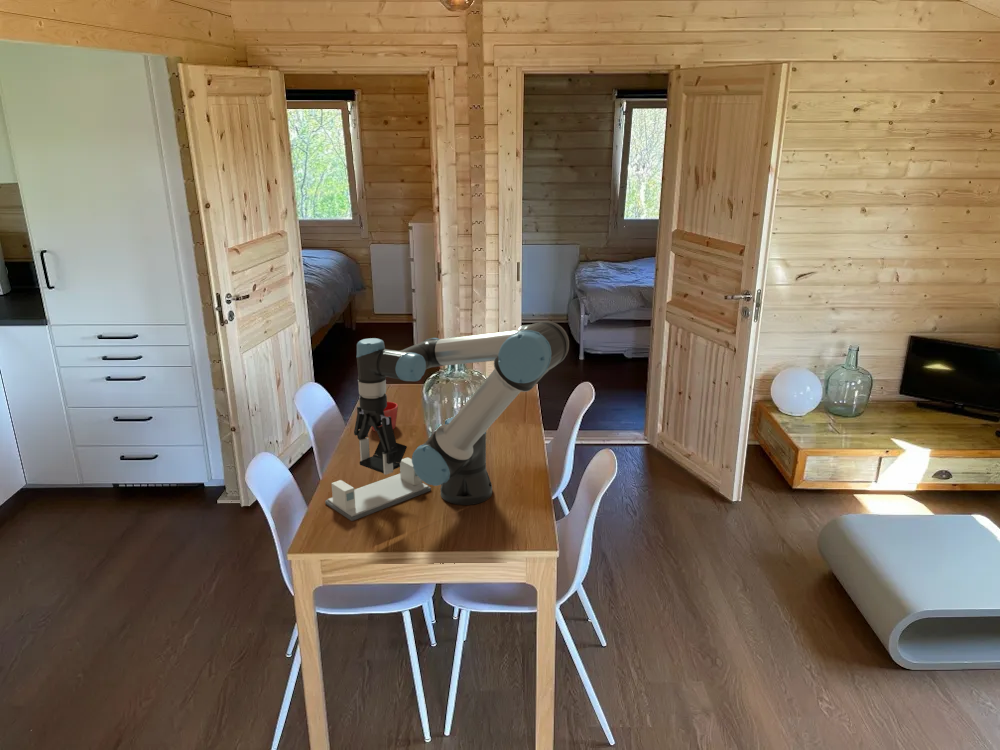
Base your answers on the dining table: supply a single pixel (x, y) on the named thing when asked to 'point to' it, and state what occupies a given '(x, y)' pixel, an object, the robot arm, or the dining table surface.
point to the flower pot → (390, 413)
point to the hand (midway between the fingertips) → (376, 466)
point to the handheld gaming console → (377, 461)
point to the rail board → (377, 493)
